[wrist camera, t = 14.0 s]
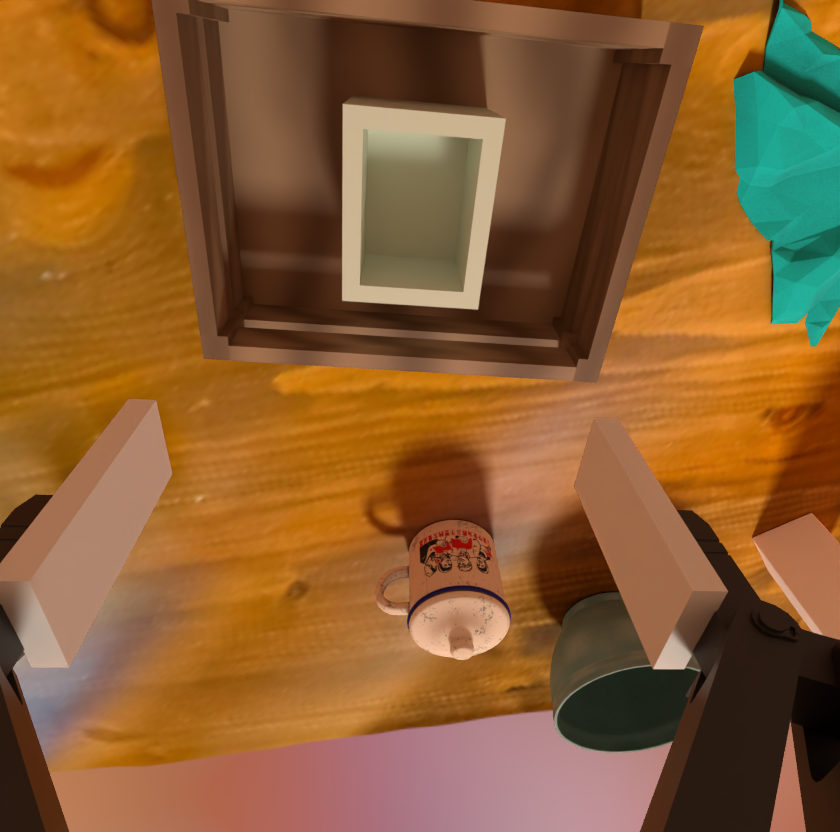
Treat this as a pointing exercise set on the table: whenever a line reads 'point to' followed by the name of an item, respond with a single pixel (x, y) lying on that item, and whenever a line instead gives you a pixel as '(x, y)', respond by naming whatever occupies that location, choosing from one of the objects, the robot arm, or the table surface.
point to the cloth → (794, 167)
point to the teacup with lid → (451, 591)
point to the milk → (806, 570)
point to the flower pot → (613, 682)
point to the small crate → (417, 200)
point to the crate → (423, 82)
